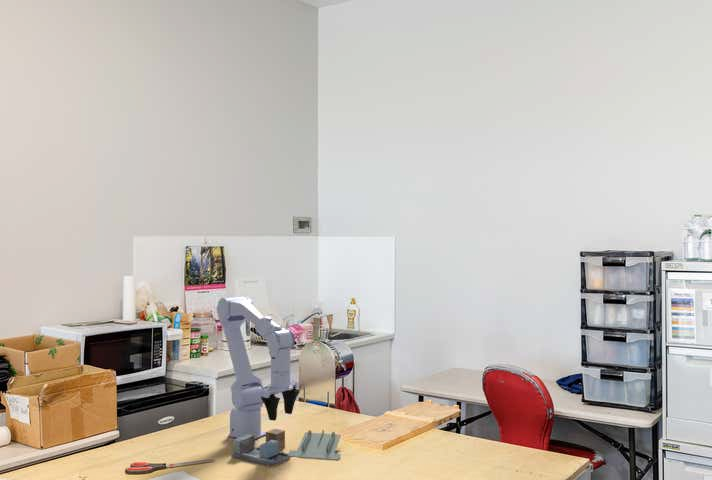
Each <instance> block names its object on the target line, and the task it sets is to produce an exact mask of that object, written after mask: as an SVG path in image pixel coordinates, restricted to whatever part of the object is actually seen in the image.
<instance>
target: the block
mask: <svg viewBox="0 0 712 480" xmlns="http://www.w3.org/2000/svg"><path fill="white" fill-rule="evenodd" d="M265 432H266V435H265V442H268V441H270V440H275V441H278V446H279V451H280V450H281V449H284V448H286V430H284V429H279V428H272V429H269V430H267V431H265Z"/></svg>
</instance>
